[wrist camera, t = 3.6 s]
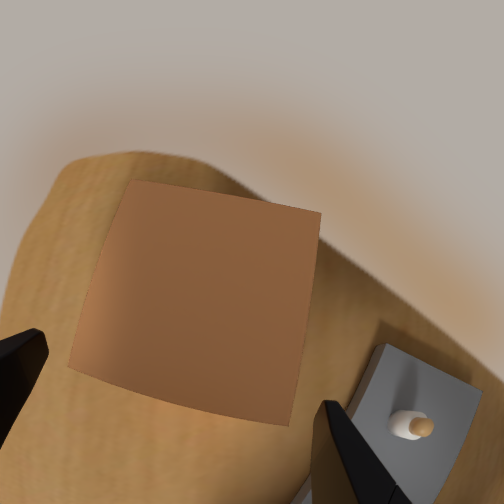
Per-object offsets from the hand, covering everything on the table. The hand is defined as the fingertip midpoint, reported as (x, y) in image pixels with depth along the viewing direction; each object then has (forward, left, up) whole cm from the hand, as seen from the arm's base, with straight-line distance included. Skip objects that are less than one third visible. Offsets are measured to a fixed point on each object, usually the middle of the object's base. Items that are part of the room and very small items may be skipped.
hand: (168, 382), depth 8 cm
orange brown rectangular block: (+3, +1, -9) cm, 10 cm away
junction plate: (0, -13, -9) cm, 16 cm away
